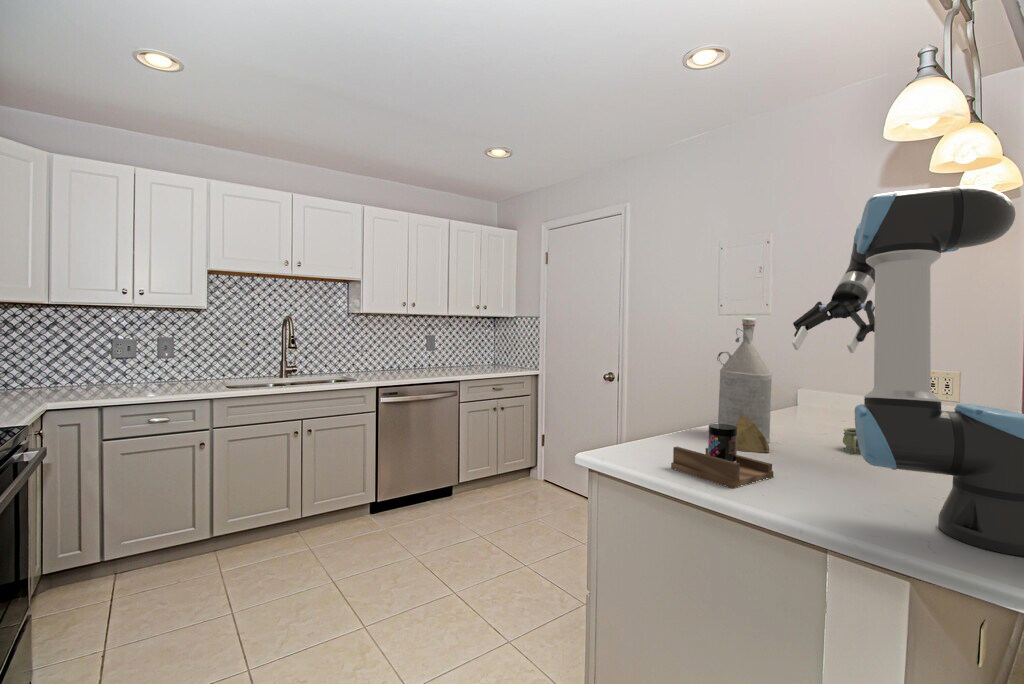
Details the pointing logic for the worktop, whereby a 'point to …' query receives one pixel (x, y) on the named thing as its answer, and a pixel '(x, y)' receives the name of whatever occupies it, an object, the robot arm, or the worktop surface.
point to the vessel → (851, 441)
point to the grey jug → (745, 384)
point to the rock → (750, 437)
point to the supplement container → (722, 441)
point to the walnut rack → (721, 467)
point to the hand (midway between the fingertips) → (821, 348)
